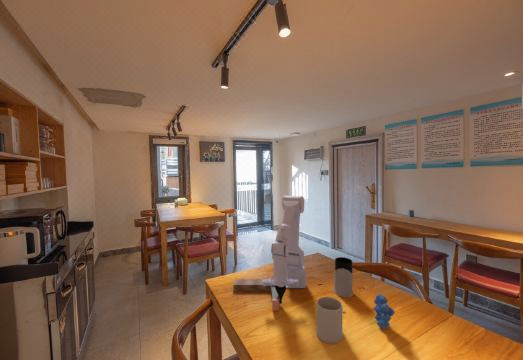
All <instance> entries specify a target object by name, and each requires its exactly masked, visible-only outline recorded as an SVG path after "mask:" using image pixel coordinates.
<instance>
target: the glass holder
mask: <svg viewBox="0 0 523 360" xmlns="http://www.w3.org/2000/svg"><path fill="white" fill-rule="evenodd" d="M353 273H354V272H353V260H352V259H351V258H348V257H344V256H343V257H339V256H338V257H336V258H335V259H334V281H333V282H334V283H333V285H334V288H333V290H332V291H333V294H335V295H336V296H339V297H342V298H351V297H353V296H354V291H353V280H354V279H353V277H354V276H353V275H354V274H353Z"/></svg>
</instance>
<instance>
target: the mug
mask: <svg viewBox="0 0 523 360" xmlns="http://www.w3.org/2000/svg"><path fill="white" fill-rule="evenodd" d="M343 309H344V308H343V303H342V302H341V301H340V300H339V299H337V298H334V297H331V296H330V297H329V296H324V297H320V298H318V299H317V301H316V328H315V329H316V330H315V331H316V336H317V337H318V339H319V340H321V341H322V342H325V343H327V344H333V345H334V344H338V343H340V342H341V341H342V339H343V311H344V310H343Z"/></svg>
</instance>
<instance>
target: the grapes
mask: <svg viewBox="0 0 523 360" xmlns="http://www.w3.org/2000/svg"><path fill="white" fill-rule="evenodd" d="M373 302H374V304H375V306H374V307H373V310H374V312H375V313H376V314H375V316H374V318H375V320H376V321H377V322H376V324H377V325H378V327H380V329H388V328H389V326H390V325H391V323H390V320H392V317H393V316H394V315H395V314H396V312H395V310H394V309H393V308H392V307H391V306H390V305H389V304H387V303H388V302H389V300H388V298H387V297H386V296H384V295H383V294H382V293H378V294H377V295H376V296H375V298H374V299H373Z"/></svg>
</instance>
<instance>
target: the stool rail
mask: <svg viewBox="0 0 523 360" xmlns="http://www.w3.org/2000/svg"><path fill="white" fill-rule="evenodd" d="M273 278H274V277H273ZM273 278H272V277H271V278H269V279H273ZM267 279H268V278H254V279H253V278H244V279H243V278H239V279H238V278H237V279H236V278H235V279H233V285H232V286H233V287H232V288H233V289H232V290H233V292H271V286H263V280H267Z"/></svg>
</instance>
